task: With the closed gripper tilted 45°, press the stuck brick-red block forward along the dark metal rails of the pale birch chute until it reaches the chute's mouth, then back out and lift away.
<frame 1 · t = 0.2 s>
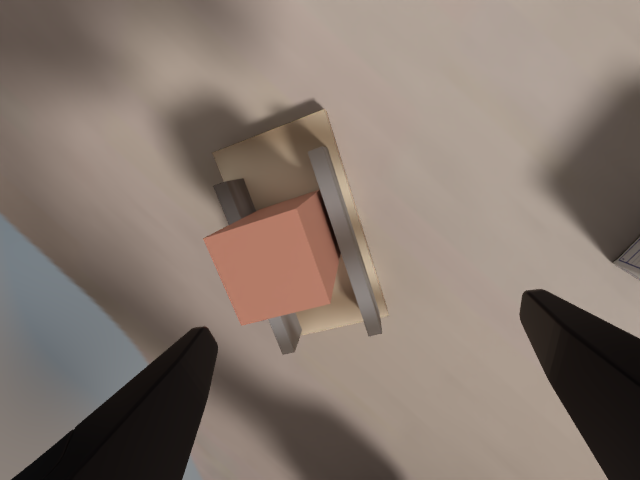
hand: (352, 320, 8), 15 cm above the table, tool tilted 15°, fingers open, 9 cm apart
brick-red block: (287, 246, 19), point 6 cm above the table, slide at 0.0 cm
chute: (306, 233, 24), on the table
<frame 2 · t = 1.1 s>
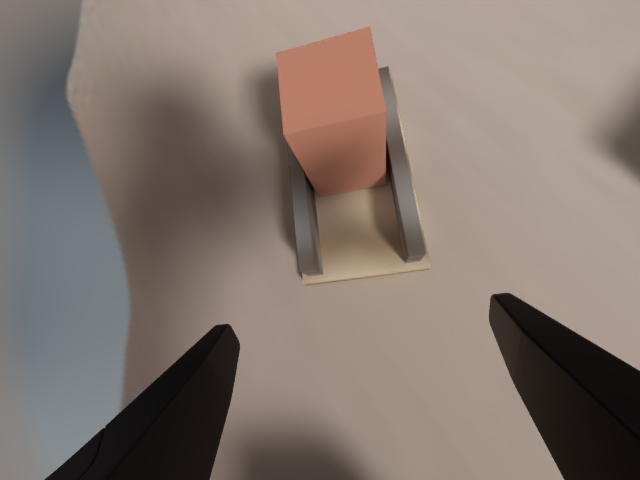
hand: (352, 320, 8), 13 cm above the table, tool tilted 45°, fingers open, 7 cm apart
brick-red block: (339, 129, 19), point 6 cm above the table, slide at 0.0 cm
chute: (350, 176, 24), on the table
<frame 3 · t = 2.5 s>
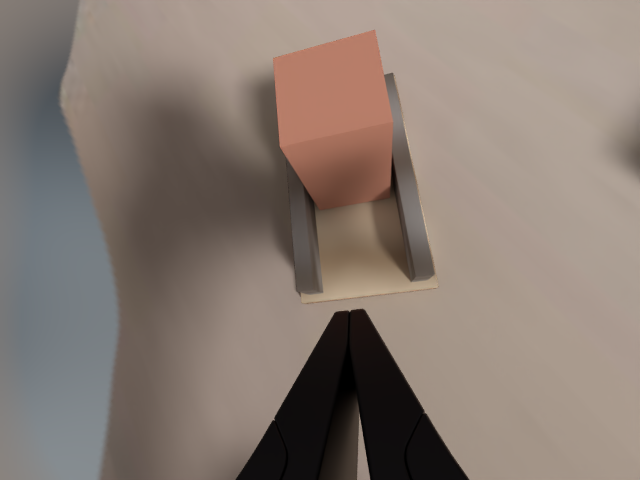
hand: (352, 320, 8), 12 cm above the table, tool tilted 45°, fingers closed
brick-red block: (341, 139, 17), point 6 cm above the table, slide at 0.0 cm
chute: (352, 188, 23), on the table
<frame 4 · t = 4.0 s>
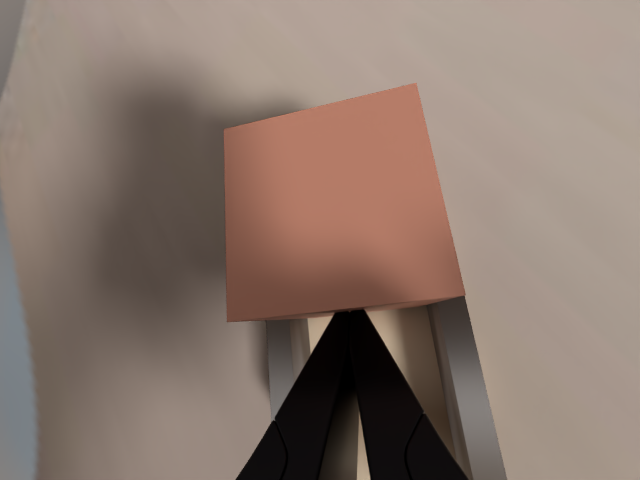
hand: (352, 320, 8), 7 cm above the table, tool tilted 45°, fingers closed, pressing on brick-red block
brick-red block: (347, 242, 11), point 6 cm above the table, slide at 0.6 cm, touching gripper
chute: (362, 288, 16), on the table
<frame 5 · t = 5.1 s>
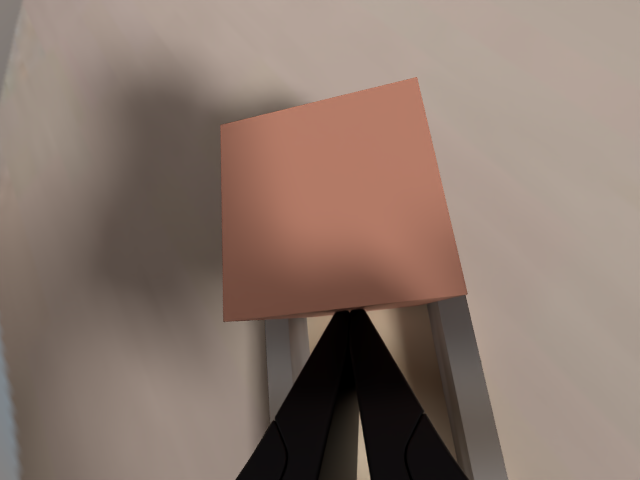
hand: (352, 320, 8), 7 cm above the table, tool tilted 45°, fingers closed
brick-red block: (346, 240, 11), point 6 cm above the table, slide at 5.3 cm
chute: (376, 383, 14), on the table
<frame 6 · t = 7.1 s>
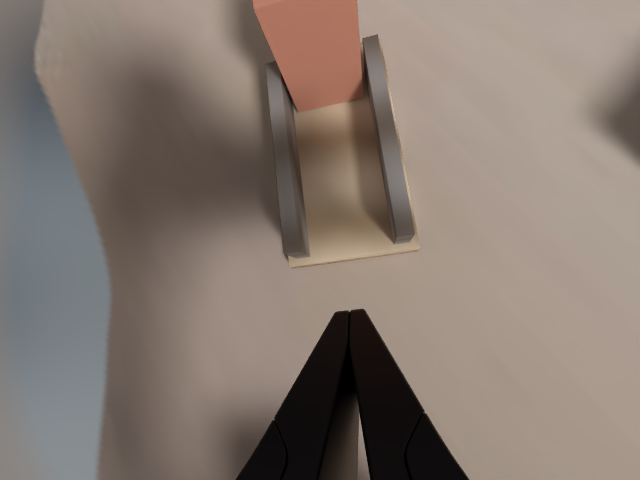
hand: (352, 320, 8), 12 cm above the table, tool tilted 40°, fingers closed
brick-red block: (315, 28, 18), point 6 cm above the table, slide at 5.3 cm
chute: (338, 155, 23), on the table
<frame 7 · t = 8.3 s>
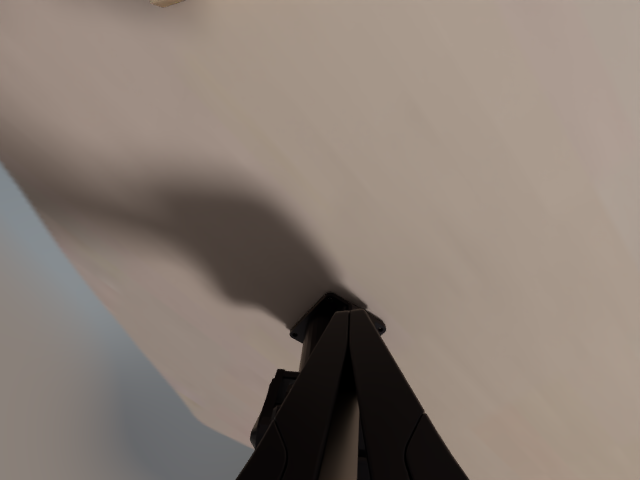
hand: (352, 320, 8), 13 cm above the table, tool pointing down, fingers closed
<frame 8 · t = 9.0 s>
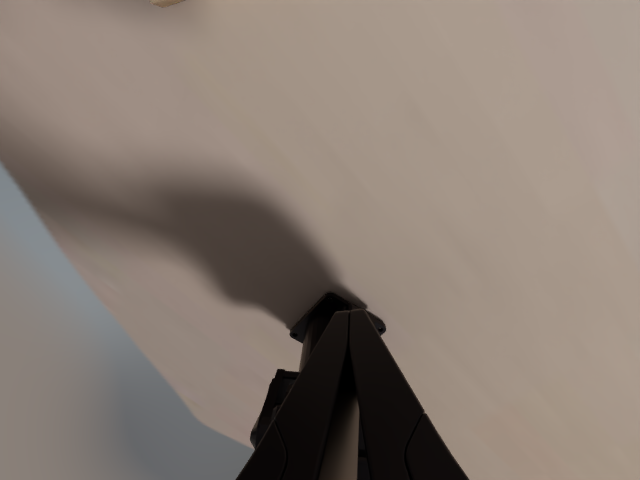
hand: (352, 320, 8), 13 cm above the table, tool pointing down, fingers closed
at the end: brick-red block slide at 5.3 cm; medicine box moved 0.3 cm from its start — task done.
